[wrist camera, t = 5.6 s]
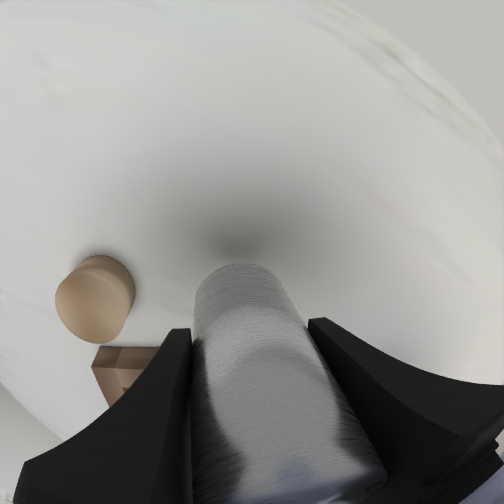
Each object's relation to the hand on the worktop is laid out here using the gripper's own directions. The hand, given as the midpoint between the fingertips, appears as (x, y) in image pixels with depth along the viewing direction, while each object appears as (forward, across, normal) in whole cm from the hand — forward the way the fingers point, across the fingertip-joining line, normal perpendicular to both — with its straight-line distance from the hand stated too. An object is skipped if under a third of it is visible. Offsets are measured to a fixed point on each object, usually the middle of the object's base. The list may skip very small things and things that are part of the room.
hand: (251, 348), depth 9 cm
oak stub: (+10, +9, +2) cm, 13 cm away
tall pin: (+3, 0, 0) cm, 3 cm away
